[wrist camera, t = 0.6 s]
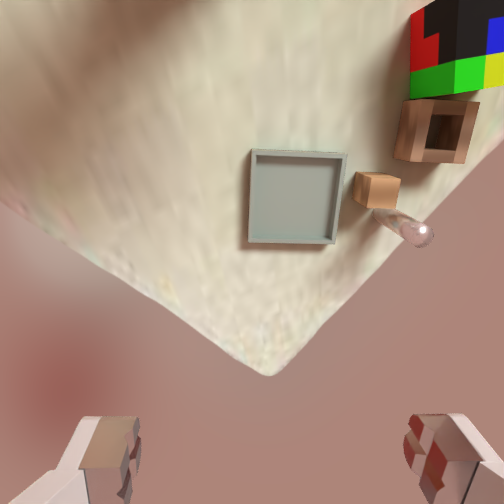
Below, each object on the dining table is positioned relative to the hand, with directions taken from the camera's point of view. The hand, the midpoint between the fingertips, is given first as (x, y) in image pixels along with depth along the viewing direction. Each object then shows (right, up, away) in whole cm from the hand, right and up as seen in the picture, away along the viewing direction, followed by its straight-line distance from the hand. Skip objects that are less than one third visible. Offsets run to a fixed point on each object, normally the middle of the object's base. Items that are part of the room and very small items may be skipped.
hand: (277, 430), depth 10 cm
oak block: (+16, +15, +41) cm, 47 cm away
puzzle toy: (+25, +32, +36) cm, 54 cm away
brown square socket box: (+24, +23, +39) cm, 51 cm away
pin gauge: (+19, +11, +43) cm, 48 cm away
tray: (+5, +14, +41) cm, 43 cm away
